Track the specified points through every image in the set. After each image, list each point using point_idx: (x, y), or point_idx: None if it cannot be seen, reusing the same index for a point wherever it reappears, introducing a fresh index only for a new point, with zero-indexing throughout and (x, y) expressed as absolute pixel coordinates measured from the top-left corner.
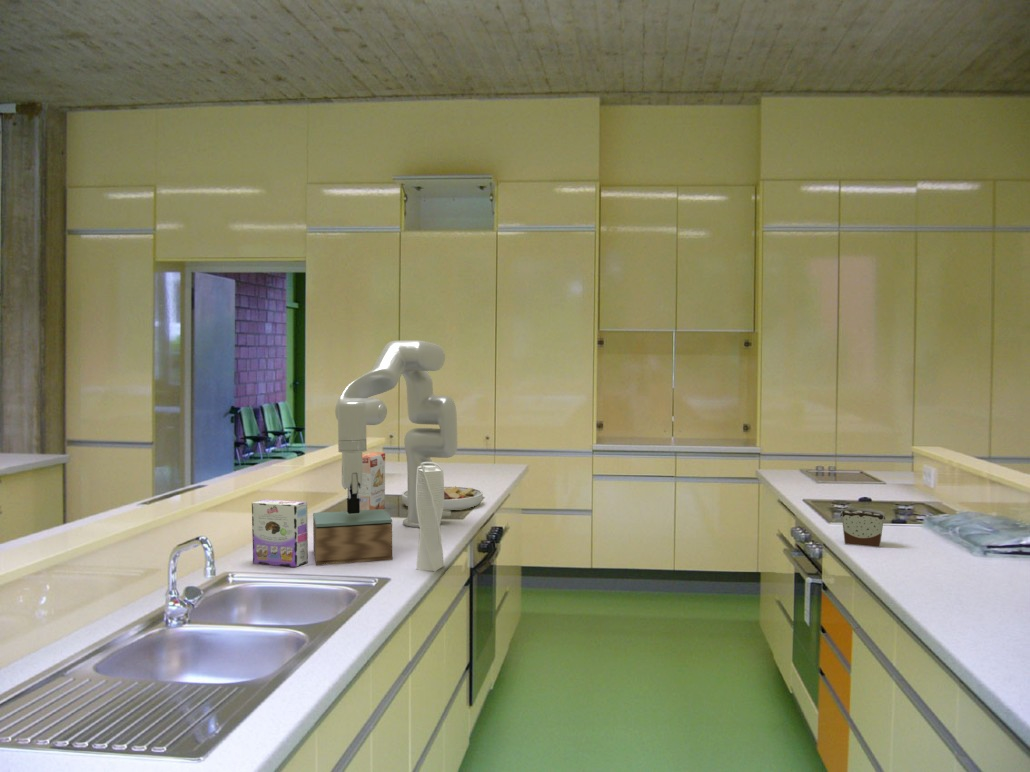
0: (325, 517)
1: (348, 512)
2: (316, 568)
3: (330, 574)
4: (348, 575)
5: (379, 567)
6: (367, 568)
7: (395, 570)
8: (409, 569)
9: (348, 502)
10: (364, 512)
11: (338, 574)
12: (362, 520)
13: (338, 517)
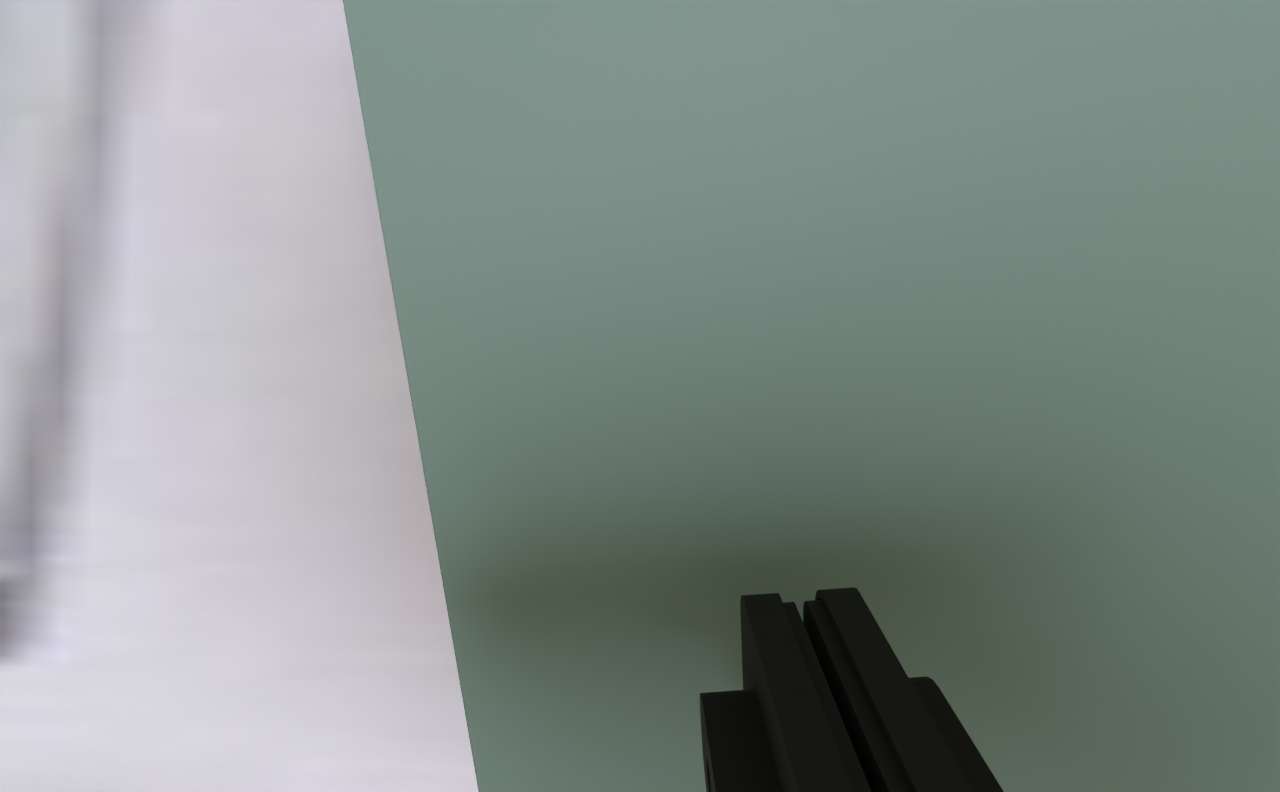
0: (985, 142)
1: (740, 611)
2: (353, 72)
3: (123, 211)
4: (86, 365)
5: (327, 598)
6: (305, 513)
7: (226, 698)
8: (247, 781)
9: (784, 771)
10: (1165, 764)
11: (121, 282)
12: (546, 737)
13: (901, 387)
